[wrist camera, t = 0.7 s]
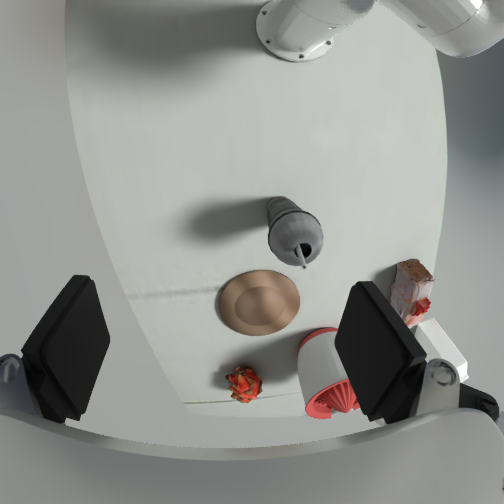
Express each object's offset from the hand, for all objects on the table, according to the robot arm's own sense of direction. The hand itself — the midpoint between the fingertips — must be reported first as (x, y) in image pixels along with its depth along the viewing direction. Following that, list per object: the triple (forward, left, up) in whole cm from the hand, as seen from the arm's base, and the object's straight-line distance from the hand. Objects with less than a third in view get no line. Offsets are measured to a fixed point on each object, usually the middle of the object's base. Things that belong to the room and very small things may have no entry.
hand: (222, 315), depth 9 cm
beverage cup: (-2, +12, -36) cm, 38 cm away
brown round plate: (+12, +26, -36) cm, 45 cm away
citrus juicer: (+8, +47, -36) cm, 59 cm away
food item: (-16, +44, -36) cm, 59 cm away
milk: (-18, +66, -36) cm, 77 cm away
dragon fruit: (+28, +42, -36) cm, 62 cm away
